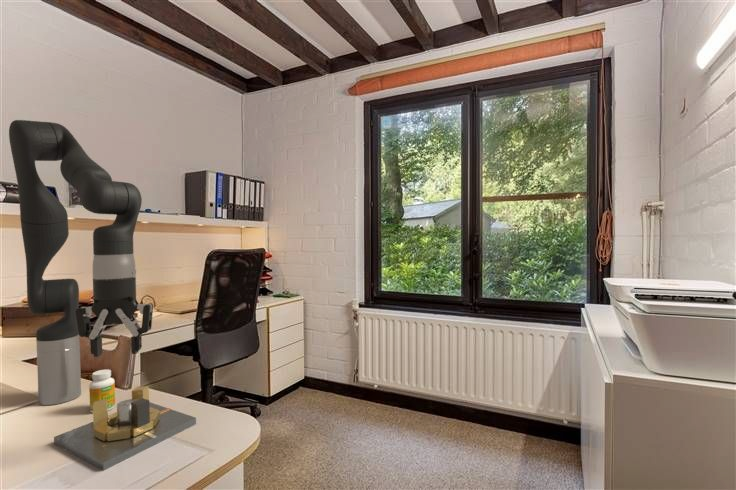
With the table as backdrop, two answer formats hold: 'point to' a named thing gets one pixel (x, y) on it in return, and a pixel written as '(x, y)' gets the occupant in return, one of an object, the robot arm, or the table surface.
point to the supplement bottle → (102, 388)
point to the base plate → (119, 450)
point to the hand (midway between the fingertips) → (117, 354)
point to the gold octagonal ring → (140, 417)
